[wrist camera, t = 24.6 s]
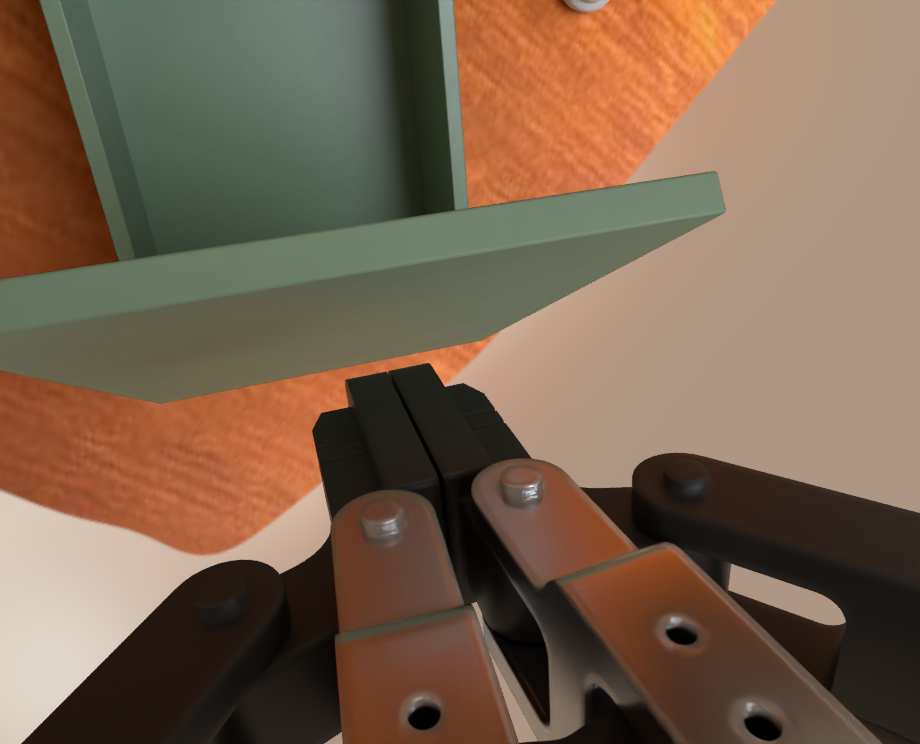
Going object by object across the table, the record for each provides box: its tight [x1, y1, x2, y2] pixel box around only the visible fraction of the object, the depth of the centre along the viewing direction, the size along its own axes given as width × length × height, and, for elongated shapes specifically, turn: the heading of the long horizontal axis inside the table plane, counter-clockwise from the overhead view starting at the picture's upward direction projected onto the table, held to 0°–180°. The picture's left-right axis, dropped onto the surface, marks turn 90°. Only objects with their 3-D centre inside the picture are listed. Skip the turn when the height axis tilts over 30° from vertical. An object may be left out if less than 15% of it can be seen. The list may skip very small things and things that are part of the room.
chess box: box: [39, 0, 468, 261], centre depth 28 cm, size 17×13×6 cm
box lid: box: [0, 171, 726, 404], centre depth 20 cm, size 18×13×1 cm
